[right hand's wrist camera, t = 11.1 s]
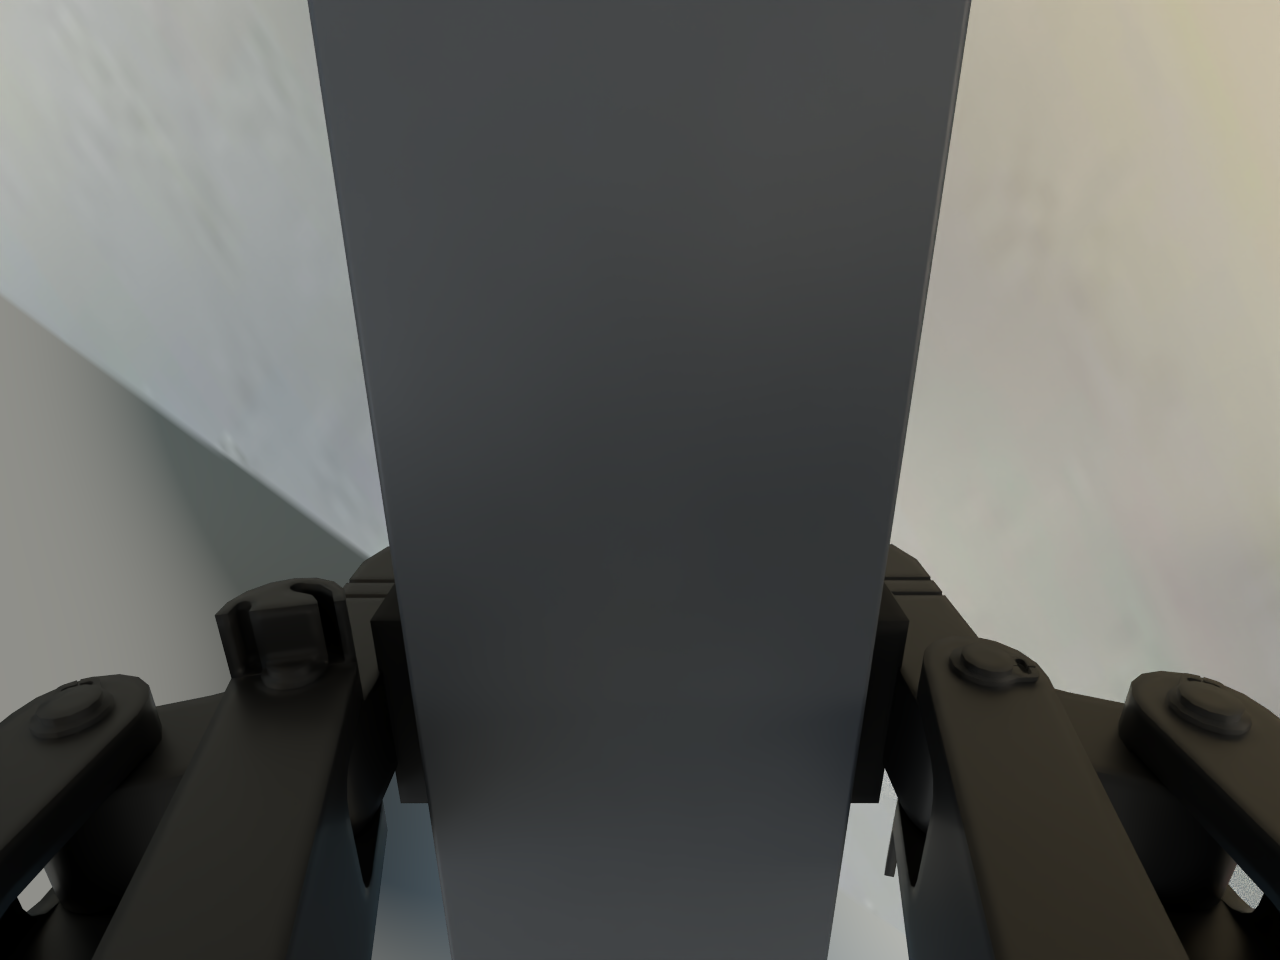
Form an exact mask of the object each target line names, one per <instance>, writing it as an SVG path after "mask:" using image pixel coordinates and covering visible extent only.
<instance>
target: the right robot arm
mask: <svg viewBox="0 0 1280 960" xmlns="http://www.w3.org/2000/svg"><path fill="white" fill-rule="evenodd" d="M215 618H216V622H217V625H218V629H219V633H220V637H221V640H222V644H223V648H224V652H225V655H226V659H227V663H228V667H229V670H230V674H231V681H230V682H229V684H228V687H227V689H226V691H225V692H223V693H219V694H215V695H211V696H207V697H202V698H197V699H192V700H187V701H181V702H177V703H171V704H166V705H162V706H155V703H154V700H153V697H152V694H151V690H150V687H149V685H148V684H146V683H145V682H144V681H143V680H141V679H140V678H139V677H134V676H127V675H121V674H117V675H108V676H98V677H90V678H85V679H81V680H80V681H78V682H77V681H74V682H71V683H67V684H64V685H62V686H60V687H58V688H57V689H55V690H53V691H51V692H48V693H46V694H44V695H42V696H39V697H37V698H35V699H34V700H32V701H31V702H29V703H27V704H26V705H24V706H23V707H21V708H20V709H18V710H17V711H15V712H14V713H12V714H11V715H9V716H8V717H7V718H6V719H4V720H3V721H2V722H1V723H0V960H371V957H372V949H373V941H374V933H375V925H376V917H377V909H378V901H379V893H380V885H381V877H382V869H383V861H384V853H385V845H386V837H387V824H386V817H385V811H384V805H383V800H382V799H383V797H384V795H385V793H386V790H387V788H388V786H389V783H390V781H391V779H392V777H393V774H394V772H396V777H397V783H398V789H399V795H400V801H401V803H428V798H427V792H426V785H425V778H424V772H423V765H422V758H421V752H420V745H419V738H418V732H417V725H416V719H415V712H414V705H413V699H412V692H411V685H410V679H409V672H408V665H407V659H406V652H405V645H404V639H403V632H402V625H401V619H400V612H399V605H398V599H397V592H396V585H395V579H394V572H393V565H392V559H391V552H390V547H386V548H385V549H383V550H382V551H380V552H378V553H377V554H375V555H373V556H372V557H370V558H369V559H367V560H365V561H364V562H363V563H362V564H361V565H360V567H359V568H358V569H357V571H356V572H355V573H354V574H353V576H352V577H351V578H350V582H349V583H346V585H345V586H344V587H343V588H342V587H340V586H339V585H338V584H337V583H335V582H333V581H329V580H324V579H320V578H294V579H288V580H283V581H278V582H272V583H269V584H266V585H263V586H260V587H257V588H255V589H252V590H249V591H246V592H245V593H243V594H241V595H240V596H238V597H236V598H234V599H232V600H231V601H229V602H227V603H226V604H225V605H224V606H223V607H222V608H221V609H220V610H219V611H218V612H217V613H216V615H215ZM884 769H886V772H887V774H888V776H889V779H890V781H891V783H892V785H893V788H894V790H895V792H896V795H897V797H898V800H897V805H896V811H895V816H894V822H893V827H892V833H891V838H890V844H889V849H888V855H887V860H886V868H885V875H886V876H891V877H894V874H895V869H896V863H897V868H898V876H899V883H900V891H901V899H902V907H903V915H904V923H905V931H906V939H907V947H908V955H909V960H1280V718H1278V717H1277V716H1276V715H1274V714H1273V713H1272V712H1271V711H1269V710H1268V709H1266V708H1265V707H1263V706H1262V705H1260V704H1259V703H1257V702H1255V701H1254V700H1252V699H1251V698H1249V697H1248V696H1246V695H1245V694H1242V693H1240V692H1238V691H1236V690H1233V689H1231V688H1229V687H1226V686H1224V685H1223V684H1221V683H1220V682H1217V681H1214V680H1211V679H1208V678H1205V677H1204V678H1200V676H1197V675H1192V674H1188V673H1176V672H1166V671H1157V672H1151V673H1144V674H1141V675H1140V676H1139V677H1137V678H1136V679H1135V680H1134V681H1132V682H1131V685H1130V688H1129V692H1128V695H1127V698H1126V701H1125V703H1120V702H1114V701H1109V700H1104V699H1099V698H1094V697H1089V696H1084V695H1079V694H1074V693H1069V692H1065V691H1061V690H1057V689H1054V687H1053V685H1052V683H1051V681H1050V679H1049V677H1048V676H1047V675H1046V674H1045V672H1044V671H1043V670H1042V669H1041V668H1040V666H1039V665H1038V664H1037V663H1036V662H1034V661H1033V660H1031V659H1030V658H1028V657H1027V656H1025V655H1024V654H1023V653H1021V652H1020V651H1018V650H1015V649H1013V648H1011V647H1008V646H1006V645H1003V644H1001V643H999V642H996V641H991V640H987V639H982V638H978V637H977V635H976V634H975V633H974V631H973V630H972V629H971V628H970V626H969V625H968V624H967V623H966V621H965V620H964V619H963V618H962V616H961V615H960V614H959V612H958V611H957V610H956V609H955V607H954V606H953V605H952V604H951V602H950V601H949V600H948V599H947V597H946V596H945V595H942V591H941V590H940V588H939V587H938V586H937V585H936V583H935V582H934V581H933V580H931V579H930V576H929V574H928V573H927V572H926V571H925V569H924V568H923V567H922V566H921V564H920V563H919V562H918V560H917V559H915V558H914V557H912V556H910V555H909V554H907V553H905V552H904V551H902V550H901V549H899V548H897V547H896V546H894V545H892V544H889V551H888V558H887V564H886V571H885V578H884V584H883V591H882V598H881V604H880V611H879V617H878V624H877V631H876V637H875V644H874V651H873V657H872V664H871V671H870V677H869V684H868V691H867V697H866V704H865V711H864V717H863V724H862V730H861V737H860V744H859V750H858V757H857V764H856V770H855V777H854V784H853V790H852V797H851V803H879V798H880V792H881V787H882V781H883V775H884ZM1237 864H1238V865H1239V866H1240V867H1241V869H1242V870H1243V871H1244V872H1245V873H1246V874H1247V875H1248V876H1249V877H1250V878H1251V879H1252V881H1253V882H1254V883H1255V884H1256V885H1257V886H1258V887H1259V888H1260V889H1261V890H1262V891H1263V892H1264V894H1263V897H1262V899H1261V901H1260V903H1259V905H1258V906H1257V907H1256V909H1253V908H1251V907H1250V906H1249V905H1248V904H1247V903H1245V902H1244V901H1243V900H1242V899H1241V898H1240V897H1239V896H1238V895H1237V894H1236V892H1235V891H1234V890H1233V889H1232V888H1231V887H1230V886H1229V884H1228V883H1229V881H1230V879H1231V876H1232V874H1233V872H1234V870H1235V867H1236V865H1237ZM43 868H44V869H45V871H46V873H47V876H48V878H49V880H50V882H51V885H52V888H51V889H50V890H49V892H48V893H47V894H46V895H45V896H44V897H43V898H42V900H41V901H40V902H38V903H37V904H36V905H35V906H34V907H32V908H31V909H30V910H29V911H27V912H26V911H25V910H23V909H22V907H21V904H20V902H19V900H18V898H17V896H18V895H19V894H20V893H21V892H22V891H23V890H24V889H25V888H26V887H27V885H28V884H29V883H30V882H31V881H32V880H33V879H34V878H35V877H36V876H37V874H38V873H39V872H40V871H41V870H42V869H43Z"/></svg>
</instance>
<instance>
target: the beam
mask: <svg viewBox="0 0 1280 960" xmlns="http://www.w3.org/2000/svg"><path fill="white" fill-rule="evenodd" d="M308 6H309V13H310V19H311V26H312V33H313V39H314V46H315V53H316V59H317V66H318V73H319V79H320V86H321V93H322V99H323V106H324V113H325V119H326V126H327V133H328V139H329V146H330V152H331V159H332V166H333V172H334V179H335V186H336V192H337V199H338V206H339V212H340V219H341V226H342V232H343V239H344V246H345V252H346V259H347V266H348V272H349V279H350V286H351V292H352V299H353V306H354V312H355V319H356V326H357V332H358V339H359V346H360V352H361V359H362V366H363V372H364V379H365V386H366V392H367V399H368V406H369V412H370V419H371V426H372V432H373V439H374V445H375V452H376V459H377V465H378V472H379V479H380V485H381V492H382V499H383V505H384V512H385V519H386V525H387V532H388V539H389V545H390V552H391V559H392V565H393V572H394V579H395V585H396V592H397V599H398V605H399V612H400V619H401V625H402V632H403V639H404V645H405V652H406V659H407V665H408V672H409V679H410V685H411V692H412V699H413V705H414V712H415V719H416V725H417V732H418V738H419V745H420V752H421V758H422V765H423V772H424V778H425V785H426V792H427V798H428V805H429V812H430V818H431V825H432V832H433V838H434V845H435V851H436V858H437V865H438V872H439V878H440V885H441V892H442V898H443V905H444V911H445V918H446V925H447V931H448V938H449V945H450V952H451V958H452V960H827V956H828V950H829V943H830V937H831V930H832V923H833V917H834V910H835V903H836V897H837V890H838V883H839V877H840V870H841V863H842V857H843V850H844V843H845V837H846V830H847V824H848V817H849V810H850V804H851V797H852V790H853V784H854V777H855V770H856V764H857V757H858V750H859V744H860V737H861V730H862V724H863V717H864V711H865V704H866V697H867V691H868V684H869V677H870V671H871V664H872V657H873V651H874V644H875V637H876V631H877V624H878V617H879V611H880V604H881V598H882V591H883V584H884V578H885V571H886V564H887V558H888V551H889V544H890V538H891V531H892V524H893V518H894V511H895V504H896V498H897V491H898V485H899V478H900V471H901V465H902V458H903V451H904V445H905V438H906V431H907V425H908V418H909V411H910V405H911V398H912V391H913V385H914V378H915V372H916V365H917V358H918V352H919V345H920V338H921V332H922V325H923V318H924V312H925V305H926V298H927V292H928V285H929V278H930V272H931V265H932V259H933V252H934V245H935V239H936V232H937V225H938V219H939V212H940V205H941V199H942V192H943V185H944V179H945V172H946V165H947V159H948V152H949V146H950V139H951V132H952V126H953V119H954V112H955V106H956V99H957V92H958V86H959V79H960V72H961V66H962V59H963V52H964V46H965V39H966V33H967V26H968V19H969V13H970V6H971V0H308Z"/></svg>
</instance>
